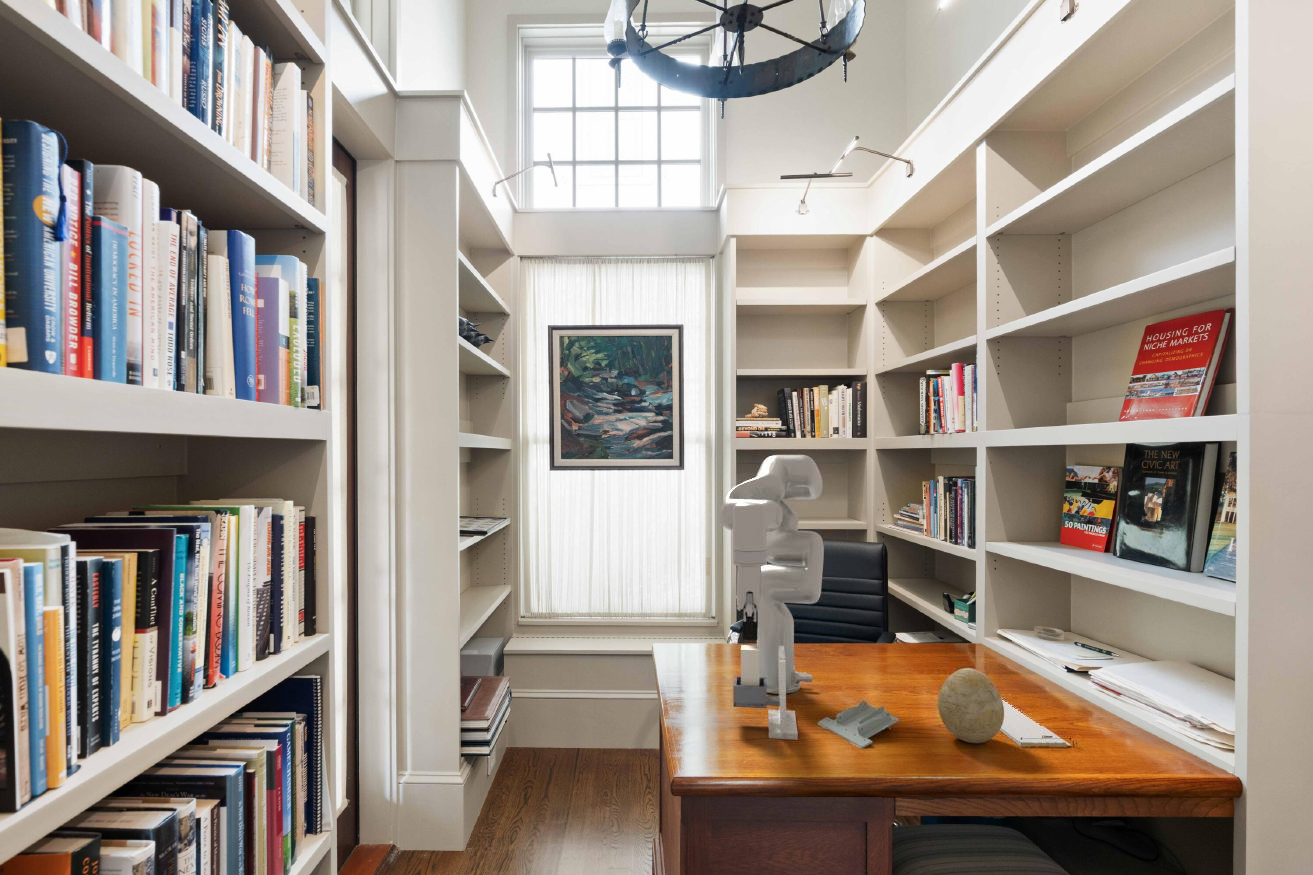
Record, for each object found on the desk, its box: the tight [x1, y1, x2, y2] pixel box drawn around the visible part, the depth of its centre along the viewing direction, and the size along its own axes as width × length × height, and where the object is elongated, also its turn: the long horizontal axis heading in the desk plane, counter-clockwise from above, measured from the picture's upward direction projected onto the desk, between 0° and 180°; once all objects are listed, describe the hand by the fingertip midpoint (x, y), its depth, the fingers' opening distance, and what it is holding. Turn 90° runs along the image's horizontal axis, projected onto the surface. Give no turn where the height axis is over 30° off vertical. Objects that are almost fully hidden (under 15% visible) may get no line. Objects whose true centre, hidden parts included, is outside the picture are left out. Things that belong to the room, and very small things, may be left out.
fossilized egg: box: [937, 667, 1004, 744], centre depth 147 cm, size 13×13×15 cm
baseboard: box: [999, 697, 1078, 748], centre depth 159 cm, size 31×3×12 cm
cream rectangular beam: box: [740, 644, 759, 686], centre depth 156 cm, size 4×4×11 cm
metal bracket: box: [817, 700, 900, 749], centre depth 152 cm, size 14×6×15 cm
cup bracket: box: [732, 645, 799, 740], centre depth 155 cm, size 14×14×16 cm
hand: (750, 633), depth 157 cm, fingers open, 9 cm apart
